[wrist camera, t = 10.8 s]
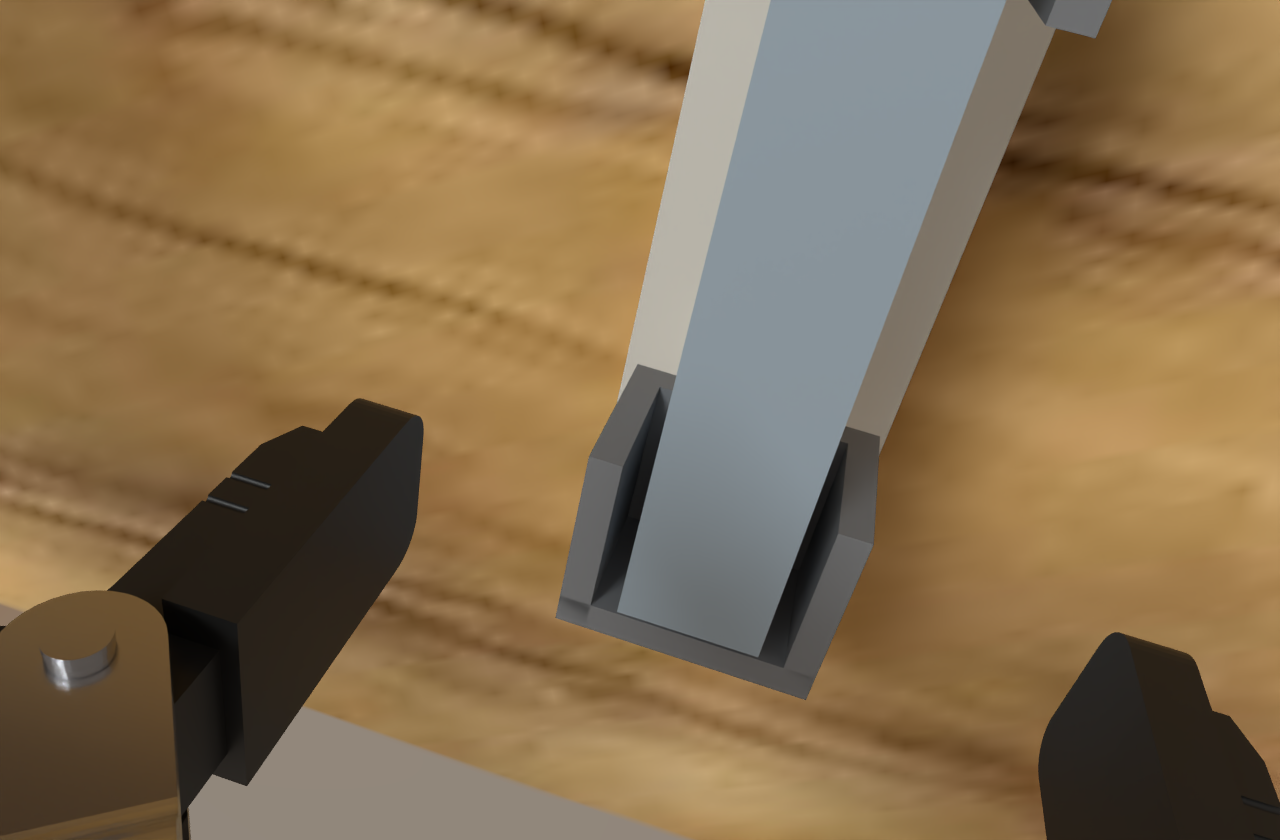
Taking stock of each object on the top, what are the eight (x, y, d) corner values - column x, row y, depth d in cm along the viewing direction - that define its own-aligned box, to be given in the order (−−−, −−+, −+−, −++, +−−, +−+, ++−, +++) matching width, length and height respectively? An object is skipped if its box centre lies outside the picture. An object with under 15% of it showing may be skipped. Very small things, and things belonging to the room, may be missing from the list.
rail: (864, -281, 17) (849, -313, 13) (1061, -237, 17) (1103, -257, 13) (658, 503, 27) (617, 611, 23) (780, 541, 27) (758, 657, 23)
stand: (794, -379, 23) (705, -537, 13) (1180, -295, 22) (1391, -396, 12) (622, 397, 35) (509, 614, 25) (866, 471, 34) (847, 725, 24)
